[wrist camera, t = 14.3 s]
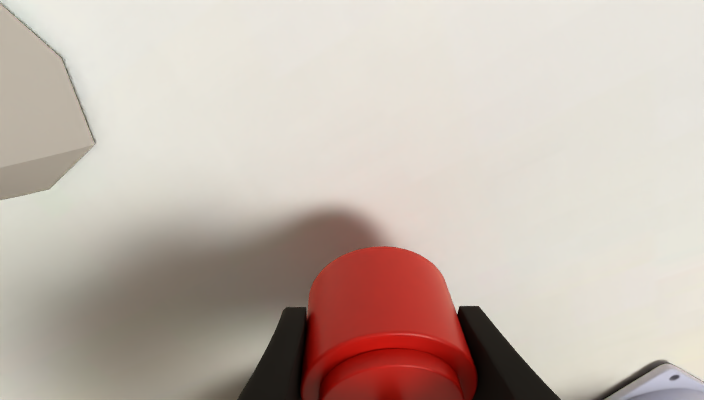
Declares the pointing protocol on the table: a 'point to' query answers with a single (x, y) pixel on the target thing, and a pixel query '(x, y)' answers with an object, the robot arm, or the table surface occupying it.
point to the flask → (35, 113)
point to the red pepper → (384, 332)
